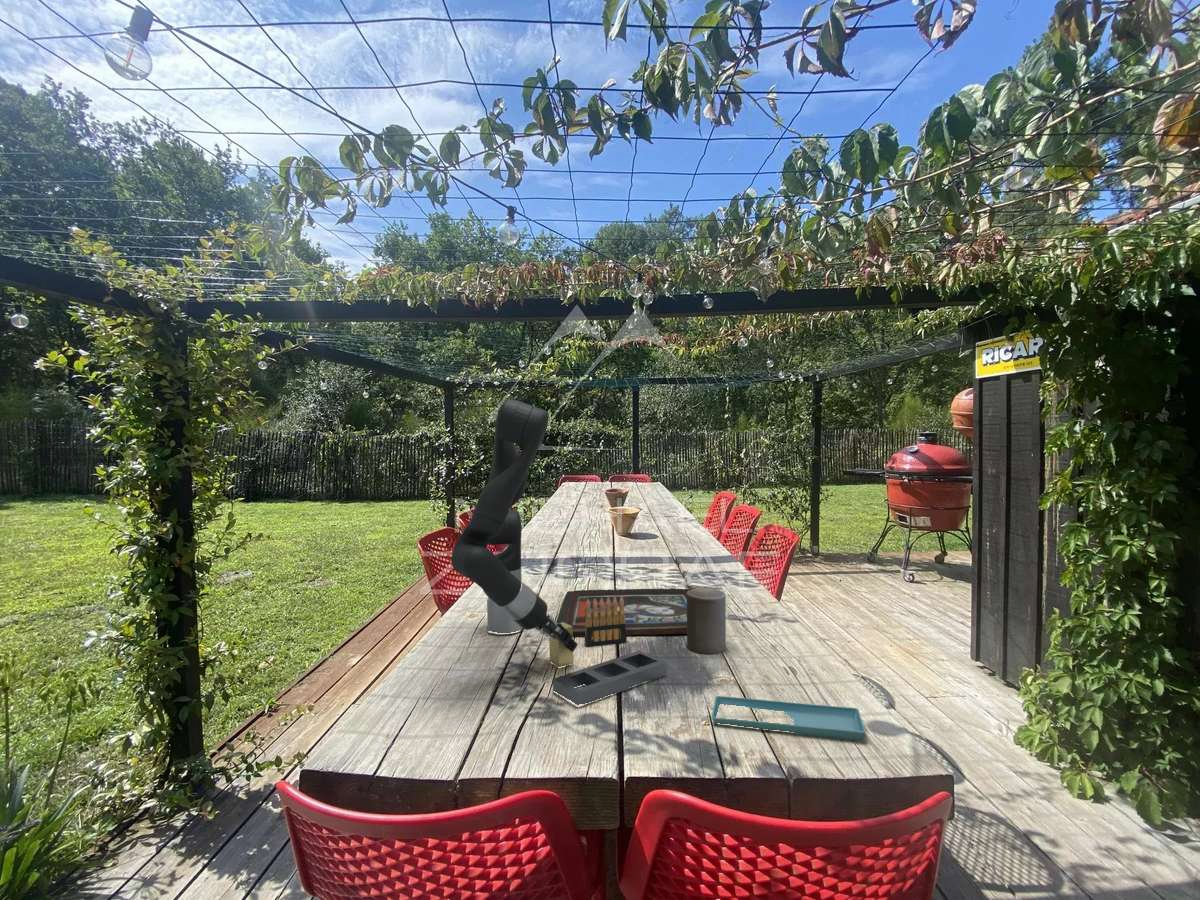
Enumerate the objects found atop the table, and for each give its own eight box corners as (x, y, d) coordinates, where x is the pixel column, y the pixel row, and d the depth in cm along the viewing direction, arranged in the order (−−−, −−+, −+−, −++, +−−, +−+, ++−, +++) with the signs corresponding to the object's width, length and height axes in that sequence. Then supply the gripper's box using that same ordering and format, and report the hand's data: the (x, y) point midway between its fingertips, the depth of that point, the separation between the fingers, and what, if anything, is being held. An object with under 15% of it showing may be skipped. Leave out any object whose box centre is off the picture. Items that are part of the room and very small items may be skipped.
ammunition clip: (625, 640, 152) (624, 594, 152) (626, 643, 150) (625, 596, 150) (584, 644, 150) (583, 598, 149) (586, 647, 148) (585, 600, 148)
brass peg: (559, 668, 135) (558, 630, 135) (549, 663, 138) (548, 625, 138) (573, 664, 137) (572, 626, 137) (564, 659, 140) (563, 622, 140)
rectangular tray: (711, 728, 107) (711, 715, 107) (715, 705, 116) (715, 693, 116) (866, 746, 100) (866, 732, 100) (858, 720, 109) (858, 707, 109)
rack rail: (577, 708, 115) (577, 693, 115) (553, 692, 122) (552, 678, 122) (666, 675, 130) (666, 662, 130) (639, 663, 137) (639, 650, 137)
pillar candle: (683, 652, 143) (682, 591, 143) (690, 638, 152) (690, 581, 152) (723, 657, 140) (723, 595, 139) (728, 642, 149) (728, 584, 148)
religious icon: (723, 636, 154) (723, 624, 154) (553, 640, 155) (552, 629, 155) (700, 594, 194) (700, 585, 194) (565, 598, 195) (564, 589, 195)
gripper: (549, 597, 127) (594, 639, 135) (516, 584, 138) (560, 623, 146) (528, 626, 124) (576, 668, 131) (497, 611, 135) (542, 650, 143)
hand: (567, 644), depth 139 cm, fingers open, 5 cm apart
